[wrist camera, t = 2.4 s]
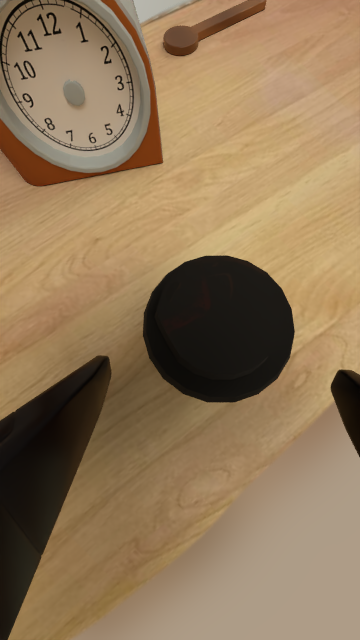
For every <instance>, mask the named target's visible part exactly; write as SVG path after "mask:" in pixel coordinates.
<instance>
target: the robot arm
mask: <svg viewBox="0 0 360 640" xmlns="http://www.w3.org/2000/svg"><path fill="white" fill-rule="evenodd" d="M110 379H111V366H110V360H109V357H108V356H96V357H95V358H93V359H92V360H90V361H89V362H87V363H86V364H84V365H83V366H81V367H80V368H78V369H77V370H75V371H74V372H72V373H71V374H69V375H68V376H66V377H65V378H63V379H62V380H60V381H59V382H57V383H56V384H54V385H53V386H51V387H50V388H48V389H47V390H45V391H44V392H42V393H41V394H39V395H38V396H36V397H35V398H34V399H32V400H31V401H29V402H28V403H26V404H25V405H23V406H22V407H20V408H19V409H17V410H16V411H15V412H12V413H11V414H9V415H8V416H6V417H5V418H3V419H2V420H0V640H8V638H9V635H10V633H11V630H12V628H13V625H14V623H15V620H16V618H17V616H18V613H19V611H20V608H21V606H22V603H23V601H24V599H25V596H26V594H27V591H28V589H29V586H30V584H31V582H32V579H33V577H34V574H35V572H36V569H37V567H38V565H39V562H40V560H41V555H42V554H43V552H44V550H45V547H46V545H47V542H48V540H49V537H50V535H51V533H52V530H53V528H54V525H55V523H56V520H57V518H58V516H59V513H60V511H61V508H62V506H63V503H64V501H65V499H66V496H67V494H68V491H69V489H70V486H71V484H72V481H73V479H74V477H75V474H76V472H77V469H78V467H79V464H80V462H81V460H82V457H83V455H84V452H85V450H86V447H87V445H88V443H89V440H90V438H91V435H92V433H93V430H94V428H95V426H96V423H97V421H98V418H99V416H100V413H101V410H102V407H103V403H104V400H105V396H106V393H107V389H108V386H109V382H110ZM331 392H332V395H333V397H334V400H335V403H336V405H337V408H338V410H339V413H340V416H341V418H342V421H343V424H344V426H345V428H346V431H347V433H348V435H349V437H350V439H351V441H352V443H353V445H354V446H355V449H356V451H357V453H358V455H359V457H360V375H359V374H357V373H355V372H354V371H352V370H339V371H338V372H337V373H336V375H335V378H334V380H333V382H332V384H331Z"/></svg>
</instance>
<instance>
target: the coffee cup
mask: <svg viewBox="0 0 360 640" xmlns="http://www.w3.org/2000/svg"><path fill="white" fill-rule="evenodd" d="M294 332H295V331H294V323H293V316H292V309H291V307H290V305H289V303H288V301H287V299H286V297H285V294H284V292H283V290H282V288H281V287H280V286H279V285H278V284H277V283H276V282H275V281H274V280H273V279H272V278H271V277H270V276H269V275H268V273H267V272H265V271H263V270H262V269H260V268H258V267H257V266H255V265H253V264H252V263H250V262H248V261H245V260H241V259H238V258H234V257H230V256H203V257H200V258H197V259H193V260H190V261H187V262H184V263H183V264H181V265H180V266H178V267H177V268H175V269H174V270H172V271H171V272H169V273H168V274H167V275H166V276H165V277H164V278H163V279H162V281H161V282H160V283H159V284H158V286H157V287H156V288H155V289H154V291H153V292H152V294H151V296H150V299H149V301H148V304H147V307H146V309H145V312H144V324H143V337H144V341H145V344H146V348H147V351H148V355H149V358H150V360H151V361H152V363H153V364H154V366H155V367H156V369H157V370H158V372H159V373H160V374H161V376H162V377H163V379H165V380H166V381H167V382H168V383H170V384H171V385H172V386H174V387H175V388H176V389H178V390H179V391H180V392H182V393H183V394H185V395H188V396H191V397H194V398H197V399H200V400H203V401H205V402H237V401H240V400H243V399H245V398H248V397H251V396H254V395H257V394H259V393H260V392H261V391H263V390H264V389H265V388H266V387H267V386H269V385H270V384H271V383H272V382H274V381H275V380H276V379H277V378H278V377H279V375H280V373H281V372H282V370H283V368H284V367H285V365H286V363H287V362H288V360H289V358H290V354H291V349H292V343H293V338H294Z"/></svg>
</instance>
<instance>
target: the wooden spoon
mask: <svg viewBox="0 0 360 640" xmlns="http://www.w3.org/2000/svg"><path fill="white" fill-rule="evenodd" d="M265 5H266V0H247V1H245V2H243V3H241V4H239V5H236V6H234V7H232V8H230V9H228V10H226V11H224V12H222V13H219V14H217V15H215V16H213V17H211V18H209V19H207V20H205V21H202V22H200V23H198V24H196V25H194V26H192V27H188V26H175V27H172V28H170V29H169V30H167V31H166V32H165V34H164V47H165V49H166V51H168V52H169V53H171V54H173V55H187V54H190V53H192V52H194V51H195V50H196V49H197V46H198V41H199V40H201V39H203V38H205V37H208V36H210V35H212V34H214V33H216V32H218V31H220V30H222V29H224V28H226V27H228V26H230V25H232V24H234V23H237V22H239V21H241V20H243V19H245V18H247V17H249V16H251V15H253V14H255V13H257V12H259V11H261V10H264V9H265Z"/></svg>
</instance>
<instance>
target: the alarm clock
mask: <svg viewBox="0 0 360 640" xmlns="http://www.w3.org/2000/svg"><path fill="white" fill-rule="evenodd" d="M0 149H1V151H2V152H3V153H4V154H5V156H6V157H7V158H8V159H9V161H10V162H11V163H12V164H13V166H14V167H15V168H16V170H17V171H18V172H19V173H20V175H21V176H22V177H23V178H24V180H25V181H27V182H28V183H29V184H32V185H35V186H44V185H49V184H54V183H59V182H64V181H70V180H75V179H80V178H85V177H90V176H96V175H101V174H106V173H111V172H116V171H121V170H127V169H132V168H137V167H142V166H147V165H152V164H158V163H163V156H162V146H161V137H160V127H159V117H158V107H157V98H156V88H155V82H154V78H153V73H152V68H151V63H150V58H149V55H148V51H147V48H146V44H145V41H144V37H143V34H142V30H141V27H140V23H139V20H138V16H137V13H136V9H135V6H134V2H133V0H0Z"/></svg>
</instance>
